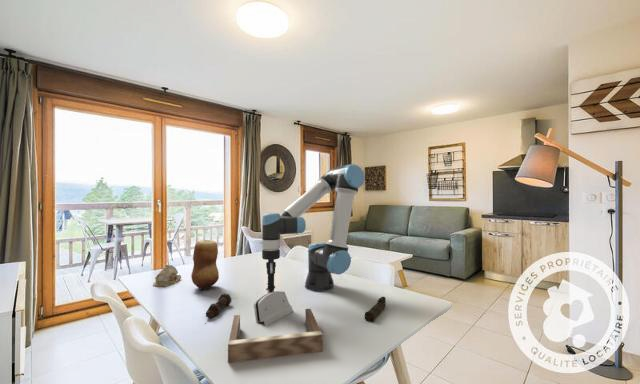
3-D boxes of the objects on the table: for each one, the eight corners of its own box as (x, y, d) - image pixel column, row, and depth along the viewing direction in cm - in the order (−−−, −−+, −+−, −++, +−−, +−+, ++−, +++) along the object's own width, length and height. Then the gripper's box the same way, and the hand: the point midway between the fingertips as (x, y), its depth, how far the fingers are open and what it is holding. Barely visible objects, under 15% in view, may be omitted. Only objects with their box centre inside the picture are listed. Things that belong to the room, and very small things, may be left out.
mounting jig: (310, 321, 108) (310, 307, 108) (322, 351, 87) (322, 333, 87) (234, 329, 102) (234, 314, 102) (227, 362, 81) (227, 344, 81)
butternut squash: (221, 289, 146) (221, 240, 146) (193, 294, 138) (193, 243, 139) (214, 282, 157) (214, 237, 158) (188, 287, 150) (188, 239, 150)
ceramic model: (166, 287, 150) (167, 268, 150) (148, 286, 152) (148, 267, 152) (184, 279, 164) (184, 262, 164) (167, 278, 166) (167, 261, 166)
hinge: (265, 325, 105) (258, 298, 107) (256, 327, 107) (250, 300, 109) (293, 310, 119) (287, 286, 121) (285, 311, 121) (279, 288, 123)
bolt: (207, 324, 110) (224, 307, 125) (217, 318, 110) (233, 302, 125) (199, 311, 111) (217, 296, 125) (210, 305, 110) (227, 290, 125)
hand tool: (373, 323, 106) (373, 311, 106) (364, 321, 109) (364, 309, 109) (391, 307, 122) (391, 296, 122) (382, 305, 124) (382, 294, 124)
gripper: (262, 246, 127) (261, 299, 127) (262, 252, 114) (261, 311, 114) (279, 246, 129) (278, 298, 128) (280, 251, 116) (280, 309, 115)
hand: (270, 304), depth 121 cm, fingers closed
